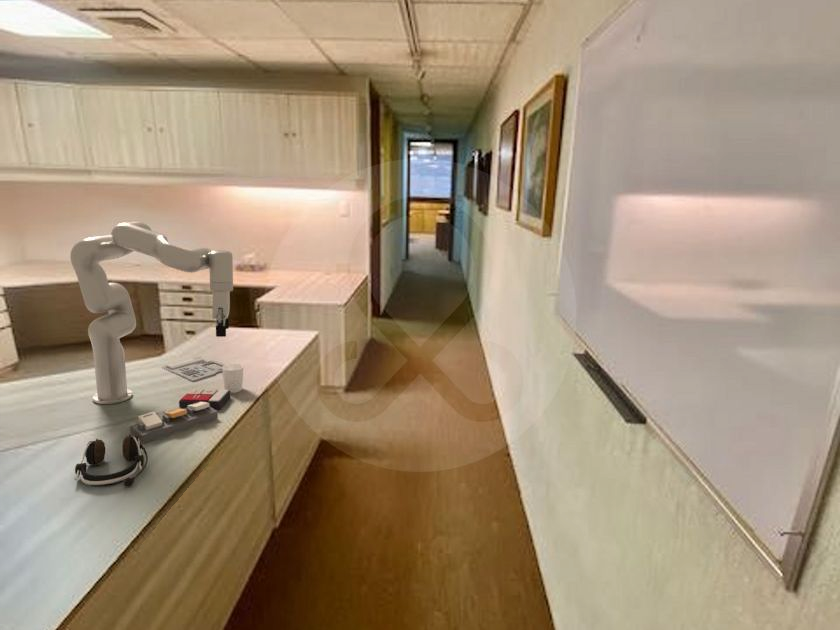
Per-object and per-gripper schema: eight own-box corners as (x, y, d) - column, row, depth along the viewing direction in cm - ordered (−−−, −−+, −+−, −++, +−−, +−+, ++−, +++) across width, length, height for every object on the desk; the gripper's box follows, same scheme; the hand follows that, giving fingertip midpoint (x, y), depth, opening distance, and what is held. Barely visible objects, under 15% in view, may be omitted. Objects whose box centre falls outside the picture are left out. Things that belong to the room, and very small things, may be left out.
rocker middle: (172, 418, 157) (171, 413, 157) (164, 416, 161) (163, 412, 161) (186, 413, 161) (186, 409, 161) (178, 412, 165) (178, 408, 164)
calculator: (191, 387, 185) (230, 388, 185) (192, 397, 186) (231, 398, 186) (178, 399, 174) (219, 400, 174) (179, 410, 175) (220, 410, 176)
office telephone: (161, 364, 209) (202, 353, 226) (161, 369, 210) (202, 358, 226) (192, 377, 197) (234, 365, 214) (193, 383, 198) (234, 370, 214)
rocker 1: (146, 430, 151) (146, 426, 151) (138, 419, 154) (138, 415, 154) (162, 425, 155) (162, 421, 155) (153, 414, 158) (154, 411, 158)
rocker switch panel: (142, 443, 150) (141, 430, 148) (130, 433, 155) (129, 420, 154) (217, 418, 169) (217, 406, 168) (204, 410, 174) (204, 398, 173)
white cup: (223, 394, 188) (223, 371, 186) (221, 387, 195) (221, 364, 193) (244, 392, 192) (244, 369, 190) (242, 385, 199) (241, 362, 196)
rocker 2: (196, 410, 163) (195, 406, 163) (187, 409, 167) (187, 405, 167) (209, 406, 167) (208, 402, 167) (201, 405, 171) (200, 401, 171)
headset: (149, 427, 144) (144, 471, 128) (150, 447, 147) (146, 493, 131) (81, 435, 137) (66, 482, 120) (84, 456, 140) (70, 506, 123)
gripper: (213, 280, 174) (214, 325, 178) (206, 290, 158) (208, 339, 162) (235, 281, 176) (235, 325, 180) (230, 291, 160) (231, 339, 164)
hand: (222, 332), depth 171 cm, fingers open, 9 cm apart
